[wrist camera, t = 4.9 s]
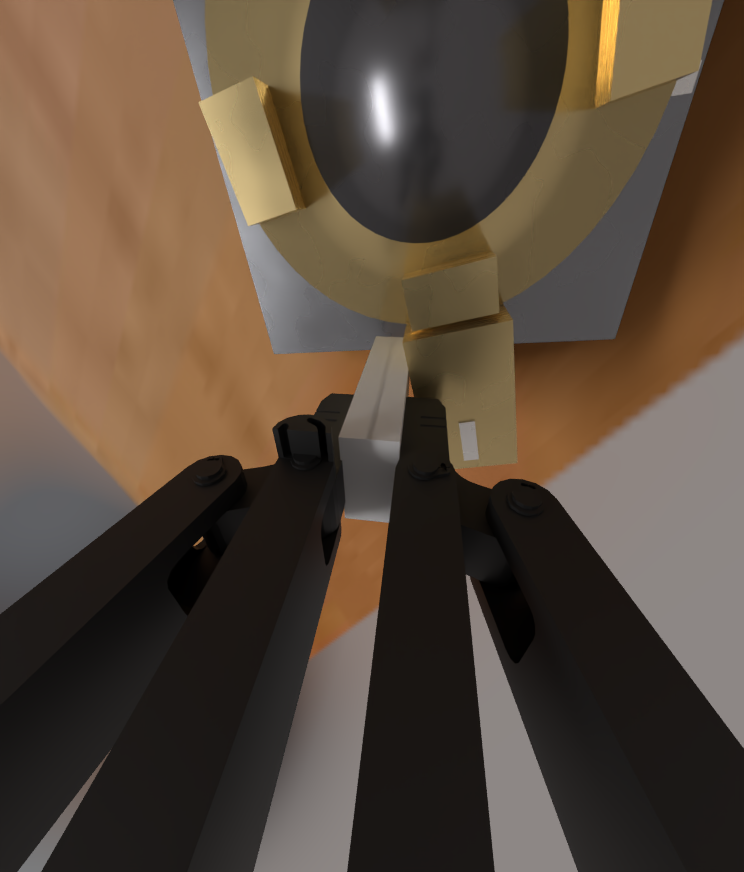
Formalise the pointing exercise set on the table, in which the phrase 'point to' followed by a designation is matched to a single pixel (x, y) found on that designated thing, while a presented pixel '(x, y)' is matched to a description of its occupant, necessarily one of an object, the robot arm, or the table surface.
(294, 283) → the housing
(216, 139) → the brass ring with ball
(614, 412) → the table surface
